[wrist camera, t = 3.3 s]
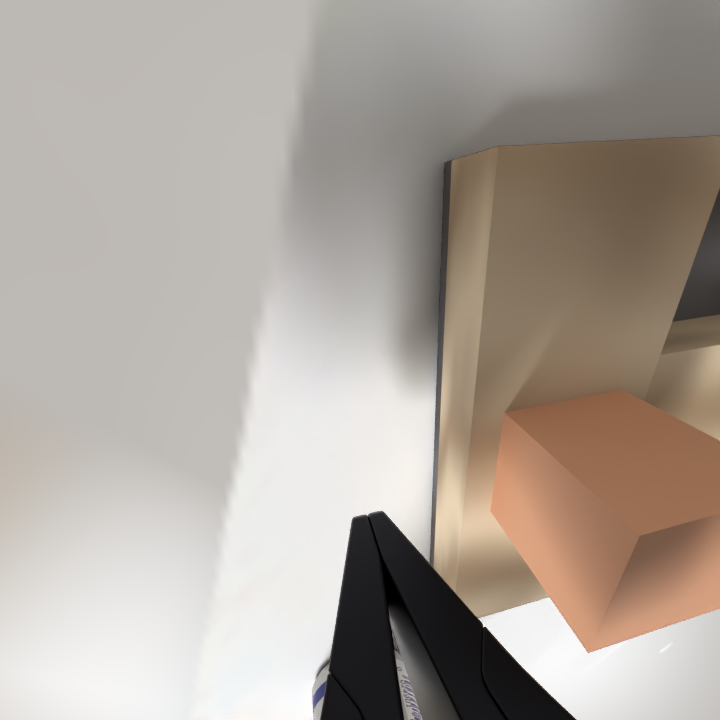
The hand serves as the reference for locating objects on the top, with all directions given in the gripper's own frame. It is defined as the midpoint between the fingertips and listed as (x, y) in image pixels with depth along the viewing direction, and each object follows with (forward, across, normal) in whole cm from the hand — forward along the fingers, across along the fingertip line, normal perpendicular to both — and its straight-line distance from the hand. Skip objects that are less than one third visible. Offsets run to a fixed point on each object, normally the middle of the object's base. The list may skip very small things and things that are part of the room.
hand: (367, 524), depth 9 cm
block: (+1, -6, 0) cm, 6 cm away
